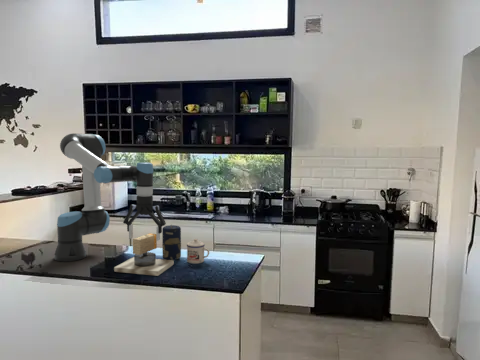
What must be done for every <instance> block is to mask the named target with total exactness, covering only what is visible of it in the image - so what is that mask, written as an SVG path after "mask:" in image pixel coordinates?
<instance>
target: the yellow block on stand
mask: <svg viewBox="0 0 480 360" xmlns="http://www.w3.org/2000/svg"><path fill="white" fill-rule="evenodd" d="M157 242H158V241H156V233H147V234H143V235H141V236H139V237H136V238H135V237H133V238H132V254H133V255H134V256H133V257H134V264H135V265H136V266H151V265H154V264H155V263H156V259H157V258H156V257H157V254H156V253H155V252H151V251H153V250H156V249H157V247H158V246H157Z"/></svg>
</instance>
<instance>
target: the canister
mask: <svg viewBox="0 0 480 360" xmlns="http://www.w3.org/2000/svg"><path fill="white" fill-rule="evenodd" d="M161 234H162V238H161V239H162V242H161V243H162V259H163V260H174V261H175V260H179V259H180V258H181V257H182V228H181V226H179V225H173V224H171V225H164V226H162V233H161Z"/></svg>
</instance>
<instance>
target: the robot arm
mask: <svg viewBox="0 0 480 360" xmlns="http://www.w3.org/2000/svg"><path fill="white" fill-rule="evenodd" d="M59 148H60V151H61V153H62V154H63V155H64V156H65V157H67V158H68V159H70V160H74V161H75V162H77V163H78V164H79V165H81V168H82V169H81V171H82V182H83V183H82V186H83V187H82V189H83V202H84V207H83V208H82V209H81V211H80V210H79V211H77V210H75V211H68V212H64V213H61V214H59V215H58V217H57V221H56V227H57V245H56V248H55V252H54V256H53V257H54V261H57V262H73V261H74V262H75V261H79V260H83V259H85V258H87V251H86V248H85V246H84V242H83V236H88V235H94V234H100V233H103V232H105V231H106V230H107V229H108V228H109V226H110V223H111V222H110V221H111V220H110V219H111V218H110V214H109V213H108V211H106V210H105V207H104V206H103V205H102V196H101V195H102V194H101V193H102V192H101V191H102V190H101V184H109V183H110V184H111V183H122V182H123V183H124V182H125V183H126V182H136V204H130V205H129V210H128V212H127V214H126V215H125V218H124V220H123V223H122V224H123V225H124V224H125V225H126V227H127V228H126V229H127V232H128V240H132V239H134V235H133V234H134V225H133V224H132V223H133V222H134V221H135V220H136V219H137V218H138V216H139V215H140V216H141V215H142V216H143V215H144V216H145V215H146V216H149V217H150V218H151V219H152V220H153V222H154V223H155V225H157V226H156V229H155V230H156V233H155V234H156V241H157V242H159V240H160V239H161V234H162V229H163V227H165V226H166V225H167V222H166V220H165V217H163V213H162V212H161V210H160V206H159V205H153V203H154V202H153V201H154V196H153V195H154V194H153V193H154V192H153V191H154V185H153V184H154V166H153V163H152V162H137V163H136V165H130V164H129V165H126V164H125V165H114V166H113V165H111V164H109V163H107V162H106V161H104V160H102V159H103V158H102V156H103V155H104V154H105V151H106V142H105V139H104V138H102V136H100V135H99V134H93V133H69V134H66V135H65V136H64V137H62V138H61V140H60V143H59ZM135 209H136V212H135V213H134V215H133V216H132V214H133V212H134V210H135ZM153 210H154V211H155V213H154V211H153ZM155 214H156V215H155ZM131 216H132V217H131Z"/></svg>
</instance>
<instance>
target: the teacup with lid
mask: <svg viewBox="0 0 480 360" xmlns="http://www.w3.org/2000/svg"><path fill="white" fill-rule="evenodd" d="M205 245H206V244H205V243H204V242H202V241H200V240H199V239H198V238H193V240H191V241H189V242H187V244H186V248H187V250H186V255H187V256H186V258H187V259H186V262H187V263H189V264H202V263H203V262H205V259H206V258H208V257H209V255H210V249H208V248H207V247H205ZM205 251H206V252H207V253H206V255H205Z"/></svg>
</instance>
